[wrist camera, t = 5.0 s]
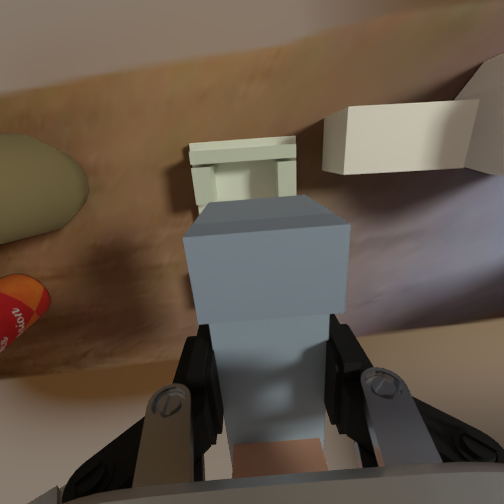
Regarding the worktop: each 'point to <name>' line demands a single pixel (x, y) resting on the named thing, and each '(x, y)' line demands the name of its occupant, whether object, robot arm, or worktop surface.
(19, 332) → the paper cup
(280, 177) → the jig
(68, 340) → the worktop surface
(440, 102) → the block
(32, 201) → the squeeze bottle
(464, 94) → the toilet paper
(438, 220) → the worktop surface
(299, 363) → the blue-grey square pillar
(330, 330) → the robot arm
